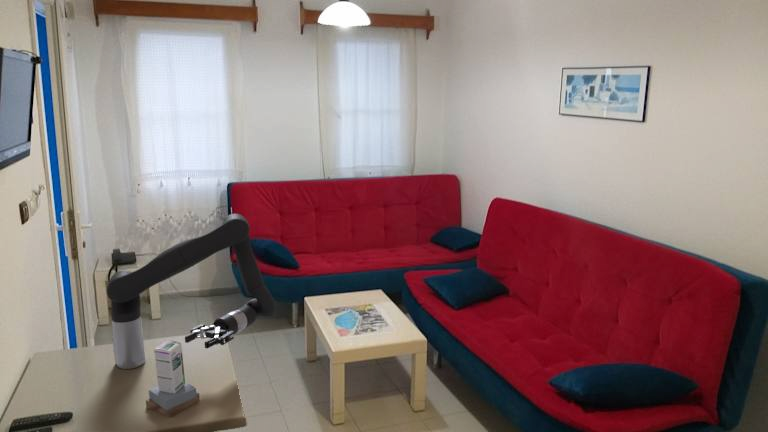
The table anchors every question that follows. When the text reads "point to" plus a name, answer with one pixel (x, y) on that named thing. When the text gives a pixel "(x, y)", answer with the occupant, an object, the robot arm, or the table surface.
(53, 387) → the table surface
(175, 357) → the syrup box
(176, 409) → the tower base
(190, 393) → the tower top
